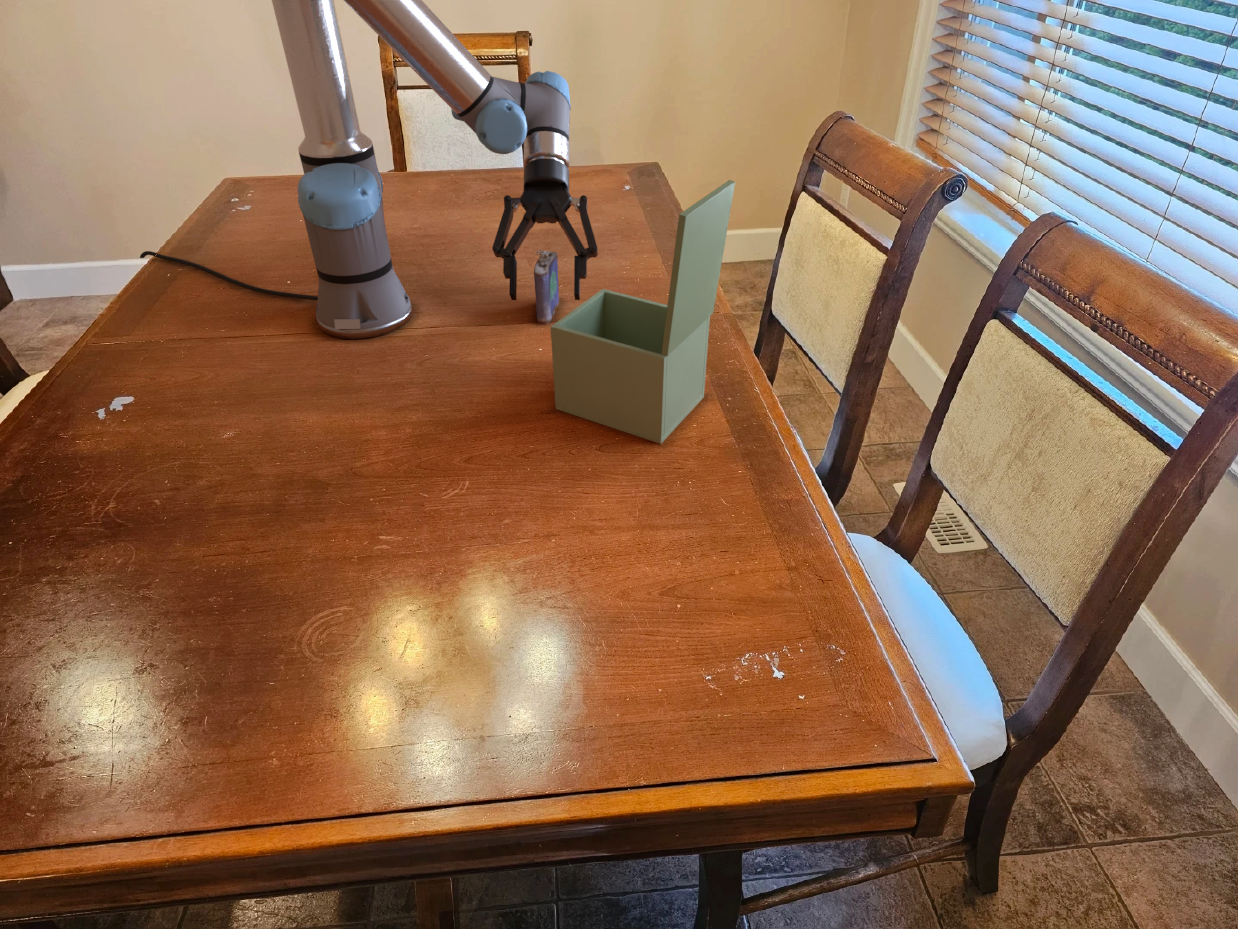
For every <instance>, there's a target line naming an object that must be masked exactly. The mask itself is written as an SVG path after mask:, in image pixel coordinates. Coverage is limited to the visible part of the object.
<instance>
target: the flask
mask: <svg viewBox="0 0 1238 929" xmlns="http://www.w3.org/2000/svg"><path fill="white" fill-rule="evenodd" d="M536 255H537V256H538V255H539V257H538V259H537V260H536V262H535V264H534V268H533V275H534V276H533V280H534V292H535V307H536V308H535V310H536V321H537V323H538V324H540V325H543V324H546V325H548V324H549V323H550V322H552V320H553V317H554V315H555V314H556V311H555V310H557V307H559V304H560V295H559V289H560V288H559V264H558V262H559V261H558V257H559V256H558V253H557V252H555V251H551V250H547V251H546V250H544V249H543V250H542V249H539V250H537V251H536Z"/></svg>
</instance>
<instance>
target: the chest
mask: <svg viewBox="0 0 1238 929" xmlns="http://www.w3.org/2000/svg"><path fill="white" fill-rule="evenodd" d="M667 306H668V304H664V303H662V302H661V303H660V302H657V301H653V300H649V299H646V298H641V297H637V296H633V295H631V294H630V295H629V294H625V293H622V292H617V291H613V290H609V289H606V288H602V289H600V290H599V291H597V292H596V293H595V294H593V295H592V296H590V297H589V298H588V299H586V300H585V301H584V302H582V303H581V304H579V306H576V307H575V308H574V309H573V310H571V311H570V312H569V313H567V314H566V315H564V316H562V317H561V318H560V319H559V320H557V321H556V322H554V324H552V325H551V326H550V338H551V340H550V341H551V356H552V370H553V372H552V373H553V385H554V386H553V390H554V404H555V405H554V406H555V410H557V411H560V412H564V413H566V414H570V415H571V416H572V415H573V416H576V417H578V418H581V419H585V420H588V421H591V422H592V423H593V422H594V423H596V424H600V425H602V426H606V427H607V428H611V429H615V430H617V431H621V432H623V433H627V434H630V435H632V436H636V437H638V438H641V439H645V440H646V441H651V442H654V443H656V444H659V445H662V444H663V443H664V441H665V440H666V439H667V438H668V437H669V436H670V435H671V434H672V433H673V432H674V431H675V429H676V428H677V427H678V426H679V425H680V424H681V423H682V422H683V421H684V420H685V418H687V417H688V416H689V414H691V412H692V411H693V410H694V409H695V408H696V407H697V406H698V404H699V403H700V402H701V401H702V400H703V399H704V398H705V389H706V388H705V387H706V377H707V376H706V374H707V361H708V347H709V334H710V322H711V316H710V317H709V318H708V319H707V320H705V321H704V322H703V323H702V324H701V325H700V326H699V327H698V328H697V329H696V330H695V331H694V332H693V333H692V334H691V335H689V336H688V337H687V338H686V339H685V340H684V341H683V342H682V343H681V344H680V345H679V346H678V347H677V348H676V349H675V350H674V351H672V352H671V353H670V354H669V355H668V356H665V355H663V354H662V346H663V338H664V330H665V322H666V314H667Z"/></svg>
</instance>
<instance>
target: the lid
mask: <svg viewBox="0 0 1238 929" xmlns="http://www.w3.org/2000/svg"><path fill="white" fill-rule="evenodd" d="M735 186H736V181H734V180H731V179H728V180H727V181H725V182H724V183H722V184H721V185H719V186H718V187H717V188H715V189H713V190H712V191H711V192H709V193H707V195H705V196H704V197H702V198H700V200H698V201H696V202H695V203H693V204H692V205H691V206H689V207H688V208H686V209H685V210H683V211H681V213H679V214H678V219H677V229H676V236H675V237H676V238H675V245H674V252H673V260H672V266H671V277H670V284H669V290H668V300H667V305H668V306H667V314H666V322H665V330H664V338H663V346H662V354H663V355H665V356H668V355H669V354H670V353H671V352H672V351H674V350H675V349H676V348H677V347H678V346H679V345H680V344H681V343H682V342H683V341H684V340H685V339H686V338H687V337H688V336H689V335H691V334H692V333H693V332H694V331H695V330H696V329H697V328H698V327H699V326H700V325H701V324H702V323H703V322H704V321H705V320H707V319H708V318H709V317H710V318H711V316H712V315H713V314H714V310H715V305H716V300H717V292H718V287H719V283H720V282H719V281H720V275H721V269H722V263H723V257H724V251H725V246H726V241H727V235H728V234H727V233H728V228H729V223H730V222H729V221H730V216H731V211H732V205H733V199H734V193H735Z"/></svg>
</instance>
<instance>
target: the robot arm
mask: <svg viewBox="0 0 1238 929" xmlns="http://www.w3.org/2000/svg"><path fill="white" fill-rule="evenodd" d="M343 2H345V4H346V5H348V6H349V8H351V10H352V11H354V12H355V14H356V15H358V17H359V18H360V19H362V20H363V22H365V24H366V25H368V26H369V27H370V28H371V30H373V32H375V34H376V35H378V37H379V38H380V39H382V41H383V42H384V43H385V44H386V45H387V46H389V47H390V48H391V50H392V51H393V52H395V54H396V55H397V56H399V58H400V59H401V60H402V61H403V62H405V63H406V65H408V66H409V68H411V70H412V71H413V72H415V74H417V75H418V77H419V78H420V79H421V80H423V82H425V84H427V86H428V87H429V88H431V90H433V92H434V93H435V94H436V95H437V96H438V97H439V98H440V99H441V100H442V101H443V102H444V103H445V104H446V105H447V106H448V107H449V108H450V109H451V110H450V111H451V115H452V117H453V118H454V119H455V120H457V121H460V122H464V124H466V125H467V126H468V127H469V128H470V129H471V130H472V132H473V133H475V135H476V136H477V139H478V141H479V142H480V143H481V144H482V145H483V146H484V147H485V148H486V149H487V150H488V151H490V152H492V153H493V154H496V155H497V154H498V155H509V154H512V153H514V152H515V151H517V150H518V149H520V148H521V147H522V145H523V151H524V152H523V165H524V167H523V190H522V194H521V195H520V196H519V197H518V196H517V197H512V196H510V195H508V194H507V195H504V197H503V211H502V215H501V219H500V221H499V225H498V228H497V231H496V234H495V237H494V240H493V244H492V247H491V249H492V252H493V254H494V256H495V257H496V258H500V259H503V261H502V262H503V264H502V266H503V268H502V274H503V276H504V278H505V279H506V280H509V289H508V290H509V291H508V292H509V295H508V296H509V297H510V300H511V301H517V286H518V285H517V284H518V282H517V281H518V280H517V277H518V261H517V258H516V254H517V252H518V251H519V249H520V247H521V246H522V244H523V243H524V241H525V239H526V237H527V236H528V234H529V233H530V231H531V229H533V228H534V226H535V224H545V223H547V224H557V223H558V224H559V226H560V228H561V230H562V231H563V232H564V234H565V236H566V238H567V239H568V241H569V243H570V245H571V246H572V248H573V249H574V252H575V253H576V255H574V257H573V258H574V266H573V267H574V268H573V270H574V273H573V274H574V277H573V279H574V280H573V282H574V283H573V295H574V301H580V300H581V280H586V279H587V276H588V260H589V259H591V258H597V257H598V255H599V251H598V250H599V249H598V245H597V241H596V237H595V235H594V231H593V228H592V224H591V221H590V220H591V219H590V216H589V213H588V208H589V207H588V206H589V204H588V197H587V196H586V195H584V194H582V195H580V197H572V196H571V194H570V169H569V167H570V127H571V126H570V124H571V123H570V121H571V108H572V106H571V94H570V87H569V83H568V81H567V79H565V78H564V76H562V75H561V74H559V73H557V72H555V71H549V70H546V71H544V72H542V71H536V72H535V71H534V72H533V73H531V74H530V75H529V76H527V78H526V81H525V82H517V81H513V80H511V79H505V78H500V77H496V76H492V75H491V74H490V72H488V70H487V69H486V68H485V67H484V66H483V65H482V64H481V63H480V62H479V60H478V59H477V58H476V57H475V56H474V55H473V54H472V53H471V52H470V51H469V50H468V48H466V46H465V45H464V44H463V43H462V41H460V40H459V39H458V38H457V37H456V35H455V34H454V33H452V31H451V30H450V29H449V28H448V27H447V26H446V25H445V24H444V22H442V20H441V19H440V18H439V17H438V16H437V15H436V13H435V12H433V11H432V9H430V8H429V6H428V5H427V4H426V3H425V2H424V1H423V0H343ZM271 4H272V8H273V12H274V16H275V20H276V25H277V28H278V32H279V36H280V40H281V44H282V48H283V54H284V56H285V61H286V66H287V69H288V74H289V77H290V81H291V85H292V89H293V93H294V97H295V101H296V105H297V109H298V114H299V117H300V122H301V126H302V130H303V134H304V138H303V140H302V141H301V143H300V144H299V146H298V148H297V151H298V156H299V157H300V164H301V167H302V171H303V175H302V176H301V177H300V178H299V180H298V183H297V202H298V207H299V209H300V211H301V213H302V216H303V220H304V225H305V228H306V233H307V237H308V241H309V246H310V249H311V253H312V257H313V261H314V265H315V269H316V273H317V277H318V288H317V295H309V294H301V293H292V292H285V291H279V290H272V289H268V288H267V289H266V288H261V287H258V286H254V285H251V284H249V283H245V282H243V281H239V280H237V279H235V278H231V277H229V276H227V275H224V274H223V273H220V272H218V271H216V270H213V269H210V268H209V267H206V266H203V265H201V264H198V263H196V262H192V261H189V260H185V259H182V258H178V257H174V256H169V255H163V254H160V253H158V252H155V251H151V250H146V251H142V253H141V254H140V255H139V258H140V259H144V258H146V256H152V257H155V258H158V259H161V260H165V261H169V262H174V263H178V264H183V265H186V266H189V267H192V268H195V269H198V270H200V271H203V272H206V273H208V274H210V275H213V276H215V277H217V278H219V279H222V280H224V281H226V282H228V283H231V284H233V285H236V286H239V287H242V288H244V289H247V290H251V291H254V292H256V293H257V292H258V293H262V294H266V295H272V296H278V297H284V298H292V299H299V300H300V299H301V300H309V301H317V304H316V306H315V318H316V322H317V326H318V328H319V330H321V331H322V332H323V333H325V334H327V335H328V336H332V337H335V338H340V339H350V340H355V339H360V340H361V339H368V338H374V337H379V336H383V335H386V334H390V333H391V332H394V331H396V330H398V329H400V328H401V327H403V326H405V325H406V324H407V323H408V322H409V321H410V320H411V318H412V316H413V307H412V302H411V299H410V296H409V295H408V293H407V292H406V290H405V287H403V283H402V282H401V280H400V279H399V276H398V275H397V273H396V271H395V270H394V266H393V261H392V260H393V259H392V255H391V249H390V245H389V239H388V233H387V229H386V222H385V214H384V213H385V212H384V197H383V196H384V195H383V194H384V184H383V178H382V175H381V173H380V171H379V168H378V163H377V158H376V154H375V149H374V144H373V141H372V139H371V138H369V136H367V135H366V134H364V133H363V132H362V131H361V128H360V123H359V118H358V117H359V116H358V112H357V108H356V103H355V99H354V92H353V88H352V83H351V78H350V73H349V69H348V63H347V58H346V53H345V49H344V43H343V40H342V34H341V30H340V24H339V20H338V15H337V9H336V5H335V0H271ZM520 206H522V208H523V209H524V211H525V212H524V214H523V215H522V219H521V221H520V223H519V224H518V225H517V228H516V229H515V230H514V233H513V234H512V236H511V237H510V239H509V241H508V242H507V239H508V236H509V233H510V229H511V227H512V223H513V219H514V215H515V214H514V213H516V212H517V211H518V209H519V207H520ZM572 206H573V207H574V211H575V212H576V213H579V218H580V223H581V225H582V229H583V233H584V236H585V240H586V243H587V247H586V248H585V246H584V245H583V242H582V241H581V239H580V237H579V236H578V234H577V232H576V230H575V229H574V227H573V226H572V223H571V222H570V220H569V218H568V216H567V214H566V213H567V212H568V211H569V209H570V208H571V207H572ZM506 242H507V244H506ZM156 254H157V255H156ZM155 255H156V256H155Z"/></svg>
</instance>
